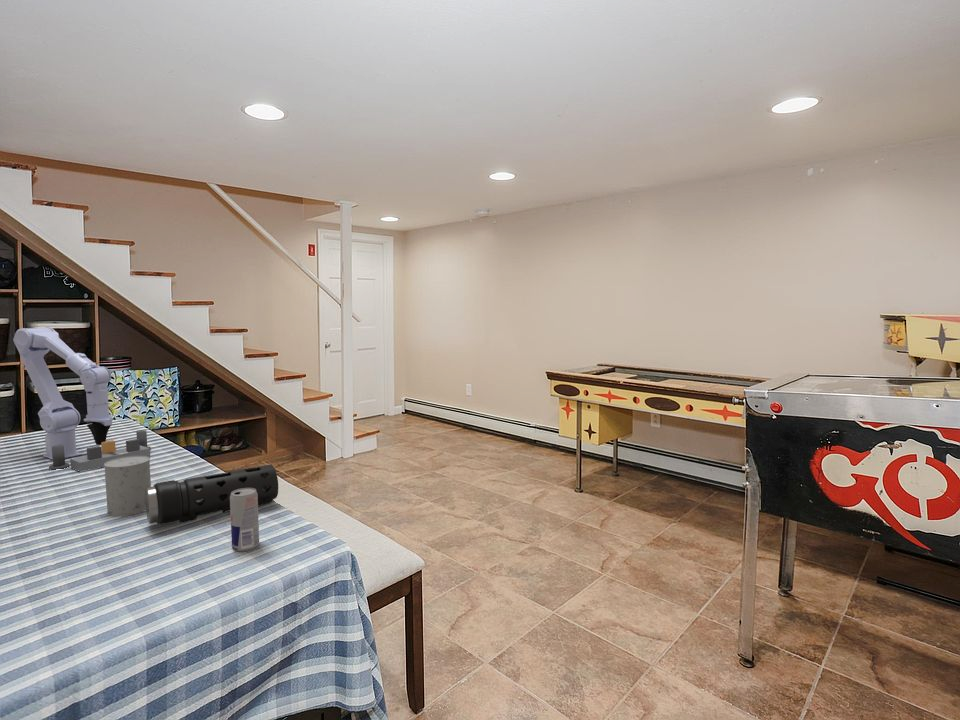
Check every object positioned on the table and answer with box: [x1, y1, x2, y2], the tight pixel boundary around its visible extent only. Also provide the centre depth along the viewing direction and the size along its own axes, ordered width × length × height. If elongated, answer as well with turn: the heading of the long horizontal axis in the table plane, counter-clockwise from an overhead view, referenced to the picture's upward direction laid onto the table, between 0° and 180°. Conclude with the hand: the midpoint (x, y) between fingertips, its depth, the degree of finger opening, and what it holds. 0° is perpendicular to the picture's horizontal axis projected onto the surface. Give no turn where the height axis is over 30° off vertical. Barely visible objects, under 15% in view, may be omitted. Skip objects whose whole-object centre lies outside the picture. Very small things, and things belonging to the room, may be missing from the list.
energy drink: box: [229, 488, 260, 552], centre depth 112 cm, size 5×5×12 cm
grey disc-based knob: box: [48, 445, 70, 470], centre depth 164 cm, size 5×5×7 cm
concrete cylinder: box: [103, 456, 152, 517], centre depth 132 cm, size 10×10×12 cm
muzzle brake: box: [145, 464, 279, 525], centre depth 129 cm, size 10×28×10 cm, turn 128°
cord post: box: [136, 430, 152, 451], centre depth 184 cm, size 5×5×7 cm
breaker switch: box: [100, 440, 117, 454], centre depth 171 cm, size 2×3×4 cm, turn 147°
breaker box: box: [70, 438, 151, 471], centre depth 170 cm, size 7×20×6 cm, turn 147°
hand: (100, 444), depth 175 cm, fingers closed
